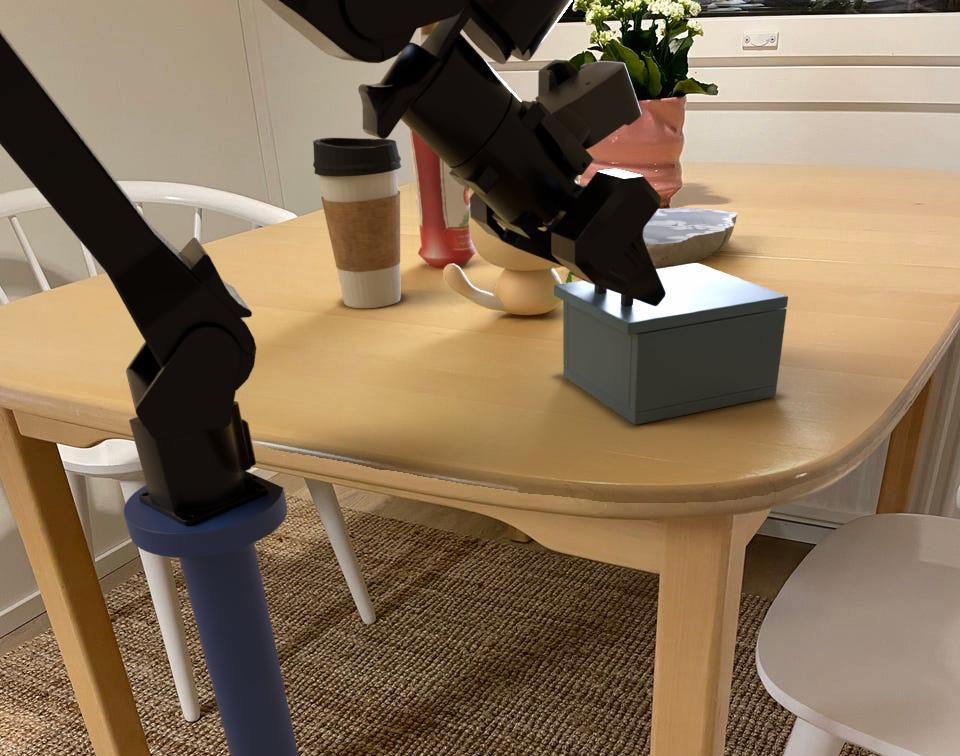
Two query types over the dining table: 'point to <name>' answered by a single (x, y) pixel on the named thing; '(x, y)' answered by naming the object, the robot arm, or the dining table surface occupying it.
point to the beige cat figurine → (509, 276)
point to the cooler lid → (674, 300)
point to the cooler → (674, 363)
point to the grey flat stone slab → (687, 235)
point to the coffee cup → (362, 216)
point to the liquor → (439, 203)
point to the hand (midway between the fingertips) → (630, 286)
